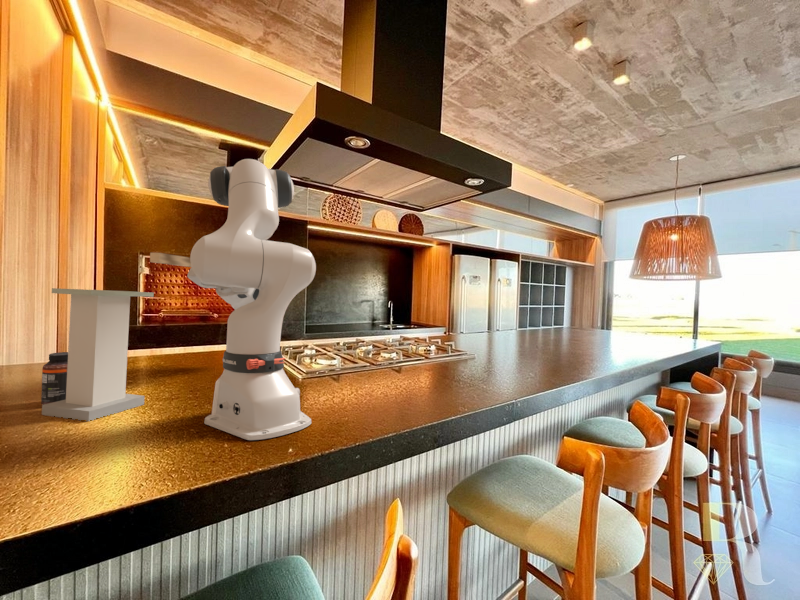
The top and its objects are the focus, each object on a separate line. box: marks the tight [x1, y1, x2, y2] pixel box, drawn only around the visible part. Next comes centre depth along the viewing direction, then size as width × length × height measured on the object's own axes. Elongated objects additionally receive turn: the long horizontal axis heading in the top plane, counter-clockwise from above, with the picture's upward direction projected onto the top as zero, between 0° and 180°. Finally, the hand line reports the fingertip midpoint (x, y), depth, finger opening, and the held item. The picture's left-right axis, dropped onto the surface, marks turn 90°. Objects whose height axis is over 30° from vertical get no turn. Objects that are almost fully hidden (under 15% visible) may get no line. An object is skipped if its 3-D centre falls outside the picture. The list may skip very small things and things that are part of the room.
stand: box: [41, 287, 155, 422], centre depth 77 cm, size 14×12×26 cm
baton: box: [149, 252, 192, 268], centre depth 99 cm, size 22×3×2 cm, turn 169°
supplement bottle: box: [40, 351, 68, 406], centre depth 79 cm, size 6×6×11 cm
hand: (205, 263), depth 105 cm, fingers closed on baton, 3 cm apart
